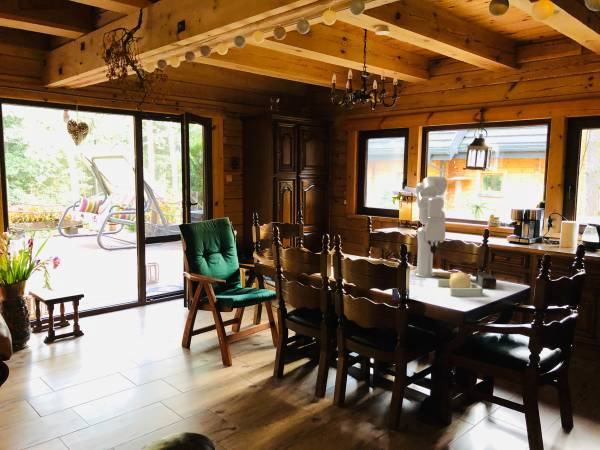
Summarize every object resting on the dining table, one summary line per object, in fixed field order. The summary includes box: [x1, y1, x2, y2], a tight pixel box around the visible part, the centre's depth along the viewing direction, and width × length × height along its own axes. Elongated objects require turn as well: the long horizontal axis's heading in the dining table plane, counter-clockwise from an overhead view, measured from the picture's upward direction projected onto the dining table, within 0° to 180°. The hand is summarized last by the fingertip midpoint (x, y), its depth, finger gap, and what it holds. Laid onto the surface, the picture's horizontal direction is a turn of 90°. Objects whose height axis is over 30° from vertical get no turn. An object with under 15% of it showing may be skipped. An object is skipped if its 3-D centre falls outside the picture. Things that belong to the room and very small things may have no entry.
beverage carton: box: [475, 271, 497, 290], centre depth 288 cm, size 8×19×7 cm, turn 171°
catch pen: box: [437, 278, 484, 297], centre depth 274 cm, size 22×17×4 cm
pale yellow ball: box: [449, 271, 472, 289], centre depth 273 cm, size 11×12×11 cm
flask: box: [391, 288, 410, 301], centre depth 255 cm, size 9×3×11 cm, turn 96°
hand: (433, 252), depth 271 cm, fingers closed
